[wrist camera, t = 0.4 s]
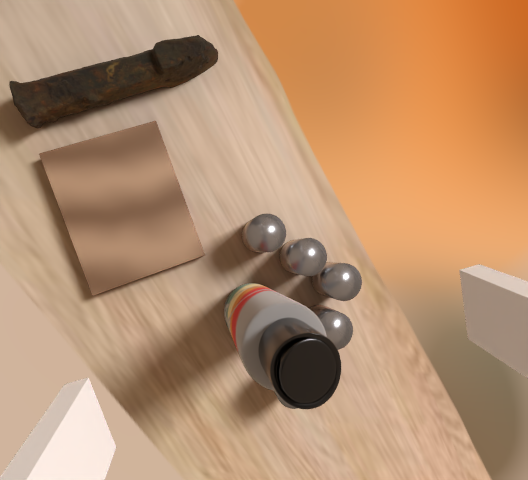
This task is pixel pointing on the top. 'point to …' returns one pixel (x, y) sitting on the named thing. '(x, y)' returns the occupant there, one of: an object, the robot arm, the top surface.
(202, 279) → the top surface
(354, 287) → the steel spacers
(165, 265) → the brown wooden flat board
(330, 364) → the lotion bottle
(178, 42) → the hand tool
